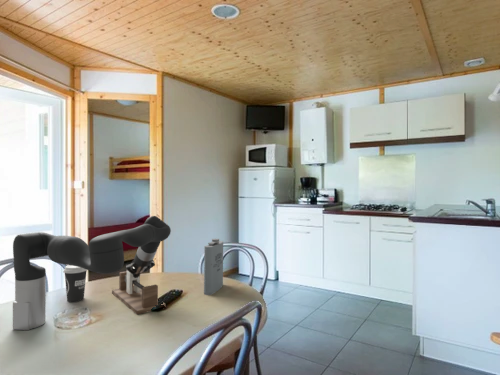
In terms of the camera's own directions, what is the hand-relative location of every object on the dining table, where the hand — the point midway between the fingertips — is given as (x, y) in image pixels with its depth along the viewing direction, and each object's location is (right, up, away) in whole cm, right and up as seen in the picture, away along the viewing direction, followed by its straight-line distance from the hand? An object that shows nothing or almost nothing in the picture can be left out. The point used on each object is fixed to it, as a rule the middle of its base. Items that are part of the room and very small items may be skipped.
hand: (135, 276), depth 146 cm
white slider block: (-2, -8, +2) cm, 8 cm away
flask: (+34, -10, +14) cm, 38 cm away
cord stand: (+1, -10, -2) cm, 10 cm away
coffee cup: (-26, -10, -2) cm, 28 cm away
